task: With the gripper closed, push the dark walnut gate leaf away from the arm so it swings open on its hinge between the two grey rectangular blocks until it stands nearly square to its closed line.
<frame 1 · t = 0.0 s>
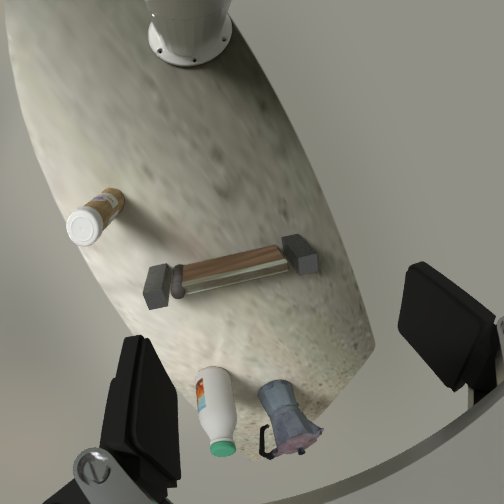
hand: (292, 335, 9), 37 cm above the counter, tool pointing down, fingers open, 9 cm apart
moka pot: (273, 390, 65), on the counter
sprinkles bottle: (111, 201, 41), on the counter
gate: (227, 272, 44), point 4 cm above the counter, hinge at 0.0°
milk bottle: (212, 376, 59), on the counter
grey rectangular blocks: (225, 258, 48), on the counter
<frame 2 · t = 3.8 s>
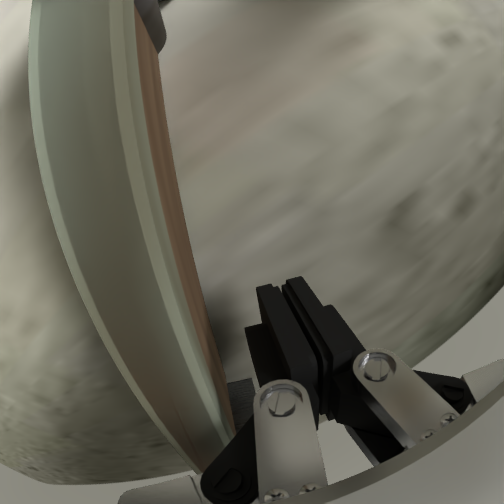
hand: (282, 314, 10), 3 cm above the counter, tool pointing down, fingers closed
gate: (149, 274, 8), point 4 cm above the counter, hinge at 1.7°, touching gripper
grey rectangular blocks: (178, 228, 12), on the counter
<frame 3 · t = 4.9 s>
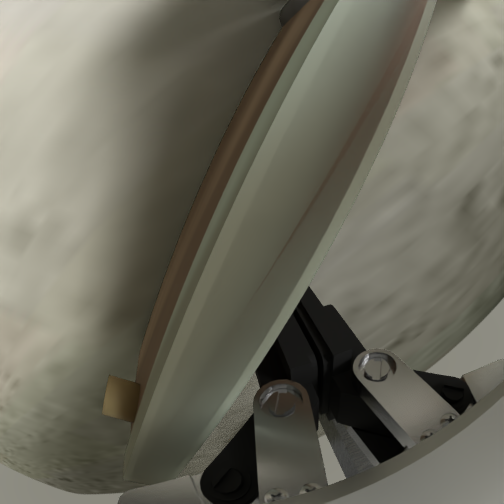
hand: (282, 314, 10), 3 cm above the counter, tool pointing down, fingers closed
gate: (216, 207, 7), point 4 cm above the counter, hinge at 35.0°, touching gripper
grey rectangular blocks: (325, 201, 12), on the counter
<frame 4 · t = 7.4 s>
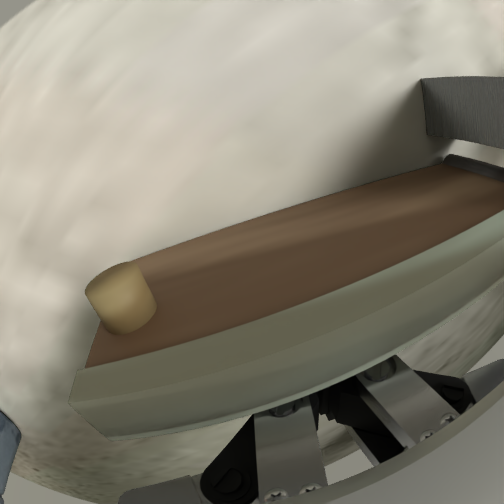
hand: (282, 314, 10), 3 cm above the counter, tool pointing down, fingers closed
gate: (385, 229, 8), point 4 cm above the counter, hinge at 83.7°, touching gripper
grey rectangular blocks: (431, 291, 16), on the counter
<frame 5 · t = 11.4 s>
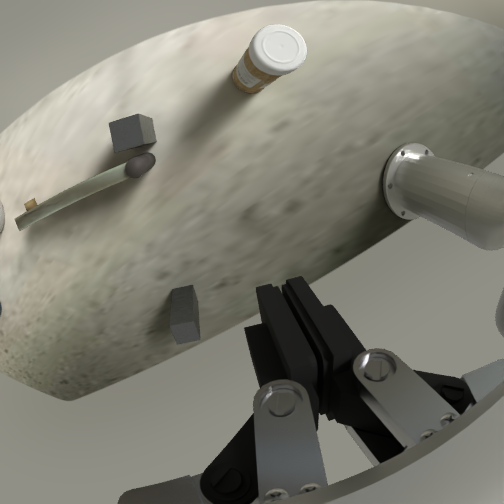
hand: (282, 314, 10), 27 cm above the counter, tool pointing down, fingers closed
sprinkles bottle: (249, 76, 30), on the counter
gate: (80, 186, 27), point 4 cm above the counter, hinge at 84.4°
grey rectangular blocks: (163, 220, 35), on the counter
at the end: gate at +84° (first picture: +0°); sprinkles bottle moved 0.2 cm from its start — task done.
